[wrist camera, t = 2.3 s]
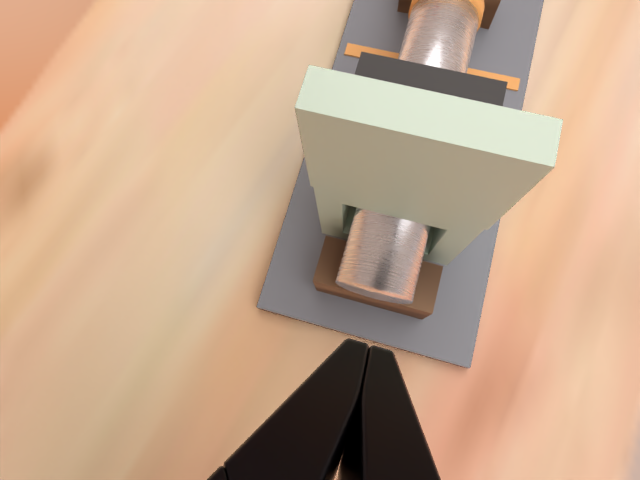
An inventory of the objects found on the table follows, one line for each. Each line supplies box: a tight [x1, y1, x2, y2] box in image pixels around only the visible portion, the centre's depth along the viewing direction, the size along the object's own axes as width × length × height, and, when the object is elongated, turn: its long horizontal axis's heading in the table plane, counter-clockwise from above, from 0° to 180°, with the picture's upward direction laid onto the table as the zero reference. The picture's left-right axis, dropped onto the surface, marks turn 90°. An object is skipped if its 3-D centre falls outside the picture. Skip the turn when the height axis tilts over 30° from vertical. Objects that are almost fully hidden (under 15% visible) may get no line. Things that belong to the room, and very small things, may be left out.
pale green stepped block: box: [295, 65, 563, 266], centre depth 16 cm, size 4×6×11 cm, turn 74°
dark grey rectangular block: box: [354, 51, 508, 106], centre depth 19 cm, size 1×5×5 cm, turn 74°
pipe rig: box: [257, 0, 544, 368], centre depth 21 cm, size 21×10×6 cm, turn 164°
